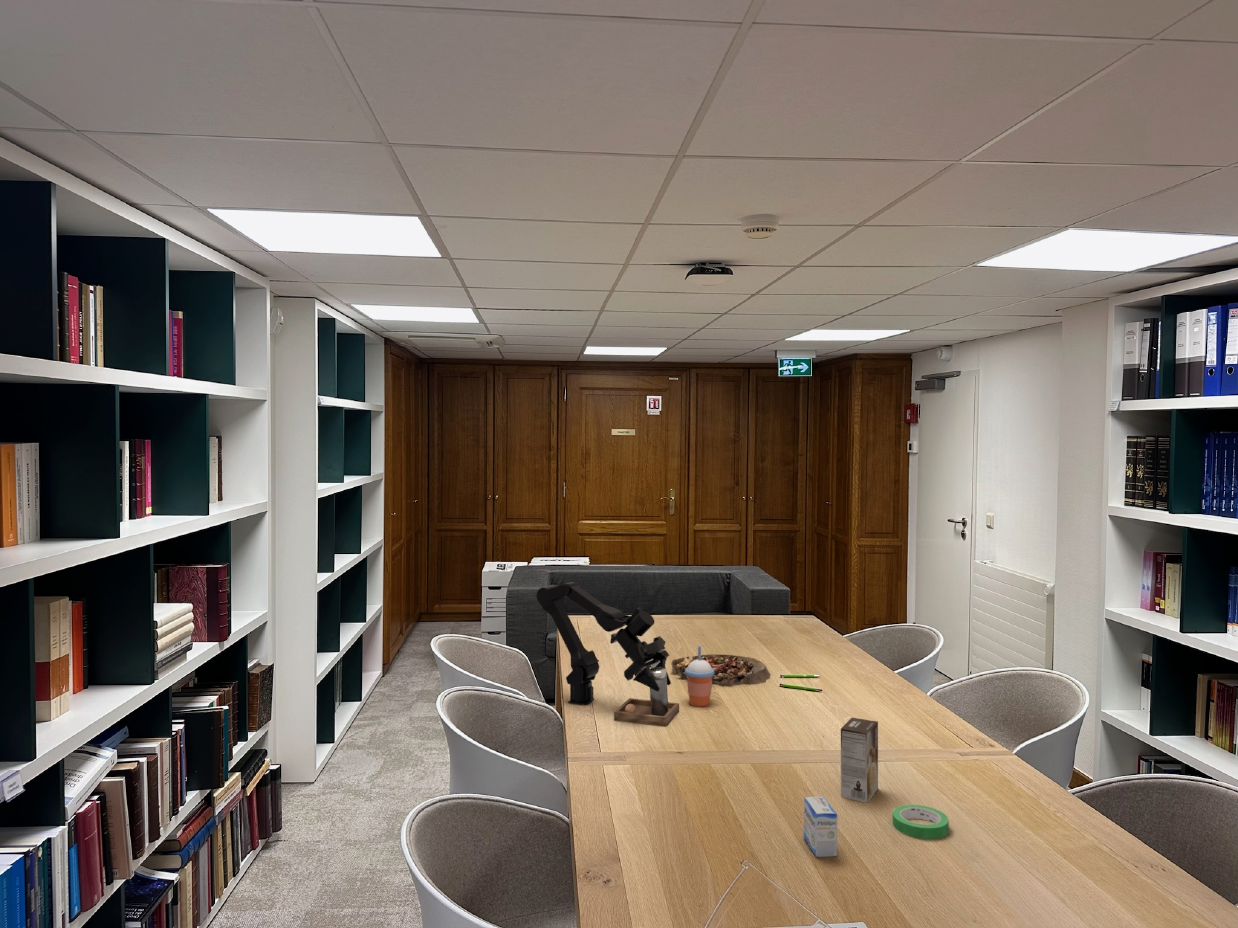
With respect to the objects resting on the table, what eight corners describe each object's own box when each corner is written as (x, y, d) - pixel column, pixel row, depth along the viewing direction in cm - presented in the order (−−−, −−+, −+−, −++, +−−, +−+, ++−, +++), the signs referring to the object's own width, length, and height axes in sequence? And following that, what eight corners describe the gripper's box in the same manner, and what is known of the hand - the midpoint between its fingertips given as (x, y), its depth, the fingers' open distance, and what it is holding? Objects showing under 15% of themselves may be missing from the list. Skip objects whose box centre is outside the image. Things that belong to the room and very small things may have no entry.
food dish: (659, 684, 278) (658, 662, 278) (687, 662, 309) (687, 642, 309) (760, 692, 265) (759, 668, 265) (779, 668, 295) (778, 647, 296)
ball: (623, 713, 238) (624, 702, 240) (626, 715, 241) (627, 704, 242) (633, 714, 237) (634, 703, 239) (636, 716, 240) (638, 705, 241)
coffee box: (851, 783, 193) (851, 716, 193) (878, 788, 189) (878, 720, 189) (839, 797, 185) (840, 727, 185) (868, 803, 182) (868, 732, 181)
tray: (614, 720, 238) (613, 711, 238) (629, 705, 251) (629, 697, 251) (666, 726, 233) (666, 717, 233) (679, 711, 246) (679, 703, 246)
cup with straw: (712, 708, 248) (712, 650, 248) (683, 707, 250) (683, 649, 250) (715, 699, 257) (715, 643, 257) (686, 698, 259) (686, 642, 258)
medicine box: (803, 838, 166) (803, 796, 166) (824, 837, 166) (824, 795, 166) (815, 857, 158) (815, 813, 158) (837, 856, 158) (838, 812, 158)
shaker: (651, 716, 238) (648, 672, 238) (650, 710, 244) (648, 667, 243) (669, 715, 238) (666, 671, 238) (668, 709, 244) (666, 666, 243)
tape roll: (883, 827, 171) (883, 815, 171) (907, 811, 178) (907, 799, 178) (934, 846, 163) (934, 832, 163) (957, 827, 171) (957, 815, 171)
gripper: (632, 635, 235) (666, 678, 229) (663, 623, 251) (695, 663, 245) (609, 658, 239) (642, 701, 233) (641, 645, 255) (672, 685, 249)
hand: (664, 687), depth 240 cm, fingers open, 7 cm apart
